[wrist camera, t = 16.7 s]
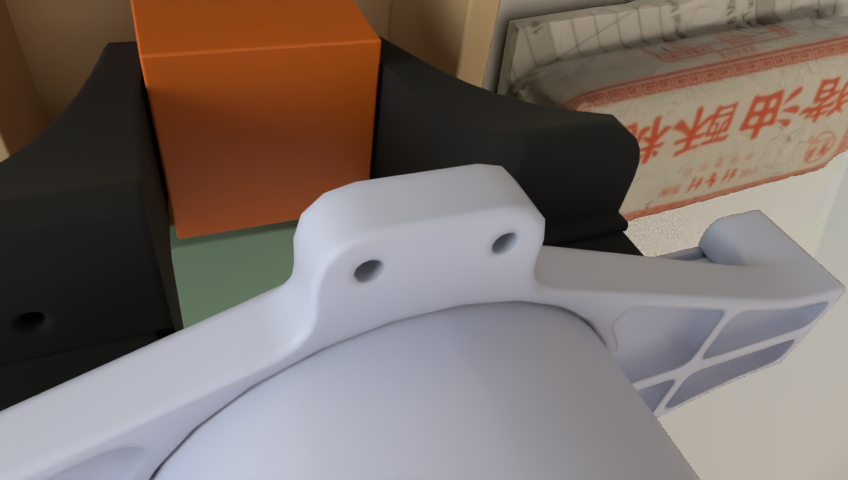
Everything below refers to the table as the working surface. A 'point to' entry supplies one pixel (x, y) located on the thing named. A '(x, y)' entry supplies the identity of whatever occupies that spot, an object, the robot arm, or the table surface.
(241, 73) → the cube
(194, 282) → the small green cabinet
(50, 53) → the drawer
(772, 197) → the table surface
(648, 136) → the packaged product
